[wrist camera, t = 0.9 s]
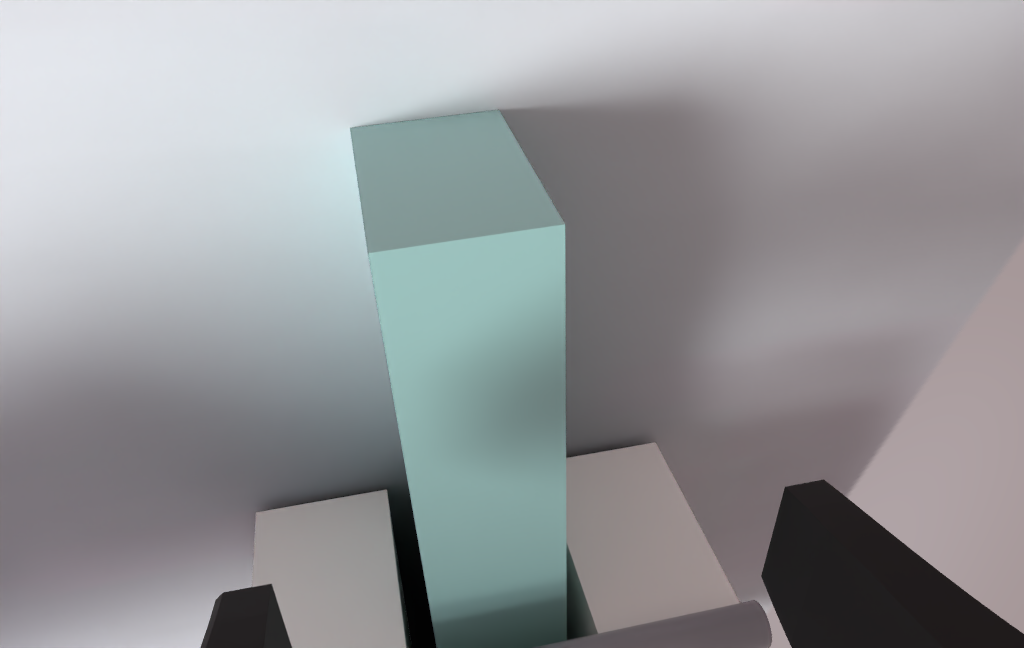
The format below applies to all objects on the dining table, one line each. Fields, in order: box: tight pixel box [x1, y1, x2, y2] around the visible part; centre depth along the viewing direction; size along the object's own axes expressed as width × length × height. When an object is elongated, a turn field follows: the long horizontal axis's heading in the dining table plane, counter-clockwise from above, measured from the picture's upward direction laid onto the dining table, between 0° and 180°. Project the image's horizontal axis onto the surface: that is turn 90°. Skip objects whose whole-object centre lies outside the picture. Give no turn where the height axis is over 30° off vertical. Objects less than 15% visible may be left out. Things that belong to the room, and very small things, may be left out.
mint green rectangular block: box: [350, 110, 567, 648], centre depth 18 cm, size 16×3×5 cm, turn 3°
